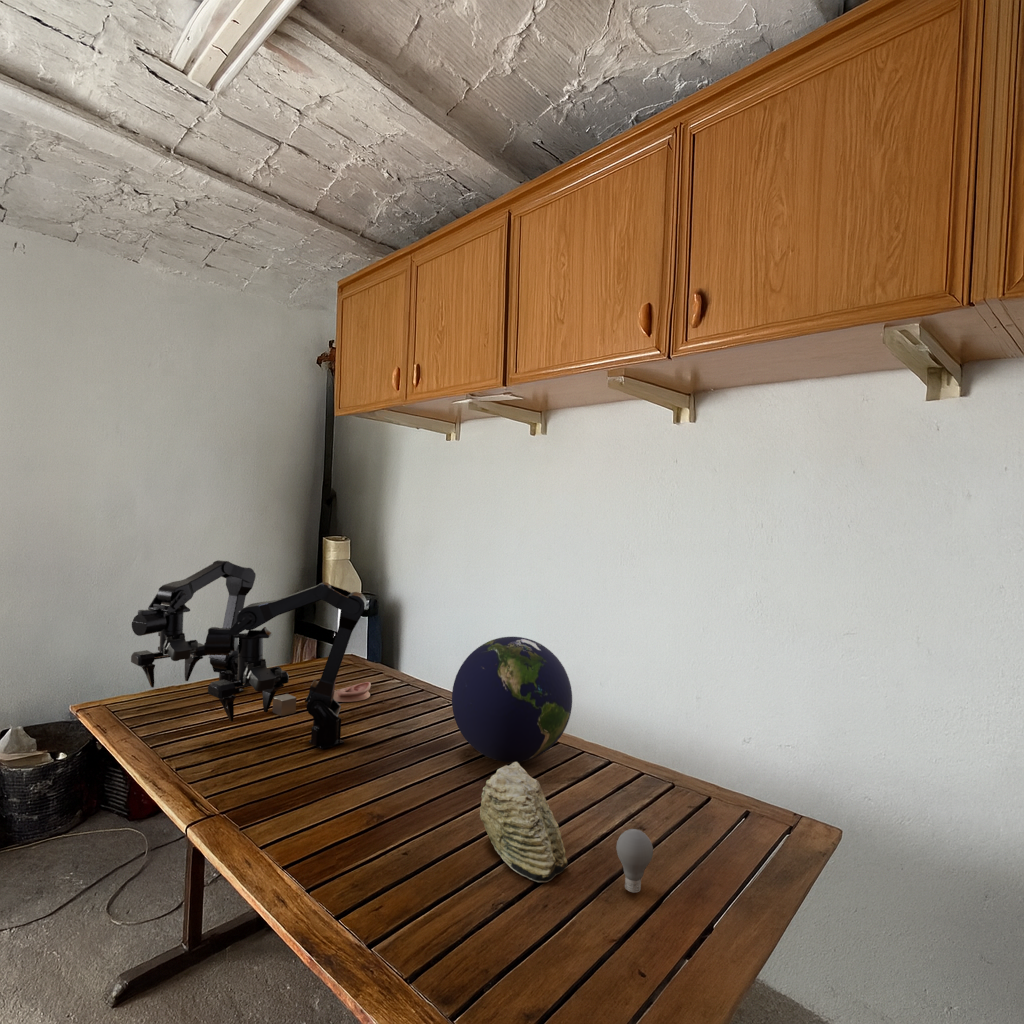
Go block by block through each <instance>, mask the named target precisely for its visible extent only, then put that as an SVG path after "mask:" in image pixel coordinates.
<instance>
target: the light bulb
mask: <svg viewBox="0 0 1024 1024" xmlns="http://www.w3.org/2000/svg"><path fill="white" fill-rule="evenodd" d="M615 849H616V854H617V857H618V859H619V861H620V863H621V865H622V867H623V873H624V874H623V875H624V876H625V878H624V888H625V890H627V891H628V892H630V893H634V894H635V893H639V892H640V891H641V889H642V887H641V886H642V879H643V877H644V875H645V871H646V868H647V867H648V866H649V864H650V863H651V861H652V859H653V855H654V847H653V843H652V841H651V838H649V836H648V835H647V834H646V833H645V832H643V831H642V830H641V829H636V828H629V829H627V830H625V831H623V832H622V833H621V834H620V835H619V837H618V839H617V841H616V847H615Z"/></svg>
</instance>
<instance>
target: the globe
mask: <svg viewBox="0 0 1024 1024" xmlns="http://www.w3.org/2000/svg"><path fill="white" fill-rule="evenodd" d="M568 675H569V674H568V673H567V671H566V669H565V667H564V665H563V663H562V662H561V661H560V659H559V658H558V657H557V656H556V655H555V654H554V652H553V651H551V650H550V649H549V648H547V647H546V646H545V645H543V644H542V643H539V642H538V641H536V640H533V639H531V638H527V637H522V636H502V637H497V638H494V639H491V640H488V641H487V642H484V643H483V644H481V645H479V646H478V647H476V648H475V649H474V650H473V651H471V653H470V654H469V655H468V656H467V657H466V658H465V660H464V661H463V662H462V664H461V665H460V667H459V669H458V671H457V672H456V676H455V679H454V681H453V686H452V691H451V707H452V712H453V714H452V715H453V717H454V721H455V723H456V726H457V728H458V730H459V732H460V734H461V735H462V737H463V738H464V740H465V741H466V742H467V743H468V744H469V746H470V747H472V748H473V749H474V750H476V751H477V752H478V753H480V754H481V755H483V756H484V757H487V758H489V759H492V760H495V761H498V762H504V763H514V762H518V763H522V762H526V761H530V760H532V759H535V758H537V757H540V756H541V755H543V754H544V753H546V752H548V750H550V749H551V748H552V747H554V745H556V743H557V742H558V741H559V739H560V738H561V737H562V736H563V734H564V732H565V730H566V728H567V726H568V724H569V721H570V718H571V714H572V709H573V691H572V684H571V681H570V678H569V676H568Z"/></svg>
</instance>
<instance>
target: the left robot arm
mask: <svg viewBox="0 0 1024 1024" xmlns="http://www.w3.org/2000/svg"><path fill="white" fill-rule="evenodd" d="M219 578H225V587H226V590H227V592H228V598H227V602H226V608H225V613H224V617H223V623H222V628H231V627H232V626H233V625H234V624H235V623H236V622H237V615H238V613H239V611H241V610H242V609H243V608H245V601H246V598H247V595H248V594H249V593H250V591H251V590H252V589H253V587H254V584H255V581H256V572H255V571H254V569H253V568H252V567H245V566H240V565H237V564H234V563H232V562H230V561H229V560H219V559H217V560H215V561H213V562H212V563H211V564H209V565H208V566H206V567H204V568H202V569H200V570H199V571H196V572H195V573H194V574H192V575H190V576H188V577H186V578H184V579H180V580H176V581H171V582H168V583H166V584H162V585H160V587H159V588H158V591H157V593H156V595H155V596H154V598H153V599H152V601H151V602H150V604H149V605H148V607H147V609H138V610H137V615H135V616H134V617H133V619H132V621H131V629H132V632H133V633H134V634H135V635H136V636H138V637H142V636H146V635H151V634H157V633H158V634H157V637H159V646H157V652H156V651H155V652H152V651H150V650H140V651H134V652H133V653H132V654H131V655H130V662H131V663H132V664H134V665H136V666H137V667H140V668H141V669H142V670H143V672H144V674H145V677H146V678H147V679H146V680H147V681H148V683H149V686H150V688H154V687H155V667H156V664H154V663H155V660H162V659H169V658H170V660H171V661H173V662H179V661H181V660H182V661H183V660H184V681H185V682H189V680H190V678H191V675H192V673H193V670H194V668H195V666H196V665H197V663H198V662H199V661H200V660H202V659H204V657H207V655H206V654H205V650H204V643H200V642H199V641H198V640H197V639H190V640H186V635H185V634H186V633H185V632H184V613H189V612H191V608H189V607H188V606H187V605H186V604H187V603H188V602H189V601H190V600H192V598H193V597H194V595H195V593H196V592H198V591H199V590H201V589H203V588H204V587H206V586H208V585H210V584H211V583H213V582H215V581H216V580H218V579H219ZM238 647H239V644H238ZM238 647H237V650H236V651H233V652H232V654H231V655H208V659H209V664H210V665H211V668H212V671H213V673H218V681H219V680H224V679H225V680H227V681H230V682H236V681H238V680H237V679H235V675H236V674H238V663H235V659H236V658H238ZM242 692H244V688H240V689H236V690H235V693H234V694H238V693H242Z"/></svg>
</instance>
